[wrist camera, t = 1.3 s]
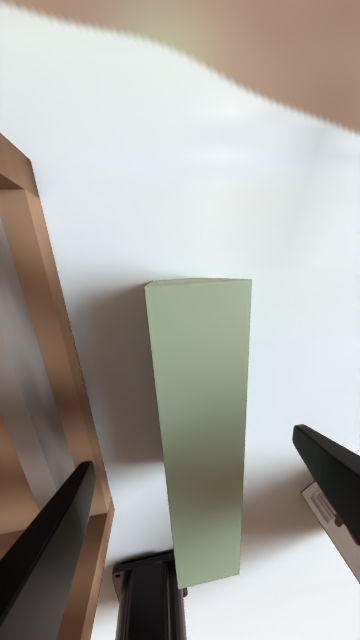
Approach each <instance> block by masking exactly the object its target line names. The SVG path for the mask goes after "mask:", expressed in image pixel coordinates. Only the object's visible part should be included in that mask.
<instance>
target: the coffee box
mask: <svg viewBox="0 0 360 640" xmlns="http://www.w3.org/2000/svg"><path fill="white" fill-rule="evenodd" d="M301 495H302V496H303V498H304V499H305V501H306V502H307V504H308V505H309V507H310V508H311V510H312V511H313V513H314V514H315V516H316V517H317V519H318V521H319V522H320V524H321V525H322V527H323V528H324V530H325V531H326V533H327V534H328V536H329V537H330V539H331V540H332V542H333V544H334V545H335V547H336V548H337V550H338V551H339V553H340V554H341V556H342V557H343V559H344V560H345V562H346V563H347V565H348V566H349V568H350V569H351V571H352V572H353V574H354V576H355V577H356V579H357V580H358V582H359V583H360V546H359V544H358V543H357V541H356V540H355V538H354V537H353V536H352V534H351V533H350V531H349V530H348V528H347V527H346V525H345V524H344V522H343V521H342V520H341V518H340V517H339V515H338V514H337V512H336V511H335V509H334V508H333V507H332V505H331V504H330V502H329V501H328V499H327V498H326V496H325V495H324V493H323V492H322V491H321V489H320V488H319V486H318V484H317V483H316V481H315V482H314V483H313V484H311V485H310V486H309V487H308V488H306V489H305V490H304V491H303V492H302V493H301Z"/></svg>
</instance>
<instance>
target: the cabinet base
mask: <svg viewBox="0 0 360 640" xmlns="http://www.w3.org/2000/svg"><path fill="white" fill-rule="evenodd" d="M89 460H91V461H93V465H94V468H95V472H96V483H95V488H94V493H93V498H92V503H91V508H90V513H89V518H88V523H87V528H86V533H85V537H84V541H83V545H82V548H81V552H80V555H79V559H78V563H77V566H76V570H75V573H74V577H73V580H72V584H71V588H70V591H69V595H68V598H67V602H66V606H65V609H64V613H63V616H62V620H61V624H60V627H59V631H58V634H57V638H56V640H90V638H91V633H92V628H93V622H94V617H95V612H96V606H97V601H98V596H99V590H100V585H101V580H102V574H103V569H104V564H105V558H106V553H107V548H108V542H109V537H110V532H111V526H112V521H113V515H114V505H113V501H112V497H111V493H110V489H109V485H108V481H107V476H106V472H105V468H104V464H103V460H102V456H101V451H100V447H99V443H98V439H97V435H96V431H95V427H94V422H93V418H92V414H91V410H90V406H89V402H88V397H87V393H86V389H85V385H84V381H83V377H82V373H81V368H80V364H79V360H78V356H77V352H76V348H75V343H74V339H73V335H72V331H71V327H70V323H69V319H68V314H67V310H66V306H65V302H64V298H63V294H62V289H61V285H60V281H59V277H58V273H57V269H56V265H55V260H54V256H53V252H52V248H51V244H50V240H49V235H48V231H47V227H46V223H45V219H44V215H43V211H42V206H41V202H40V198H39V194H38V190H37V186H36V182H35V177H34V173H33V169H32V165H31V161H30V159H28V158H27V157H26V156H25V155H24V154H23V153H22V152H21V151H20V150H19V149H17V148H16V147H15V146H14V145H13V144H12V143H11V142H10V141H9V140H8V139H6V138H5V137H4V136H3V135H2V134H1V133H0V560H1V558H2V557H3V556H4V555H5V554H6V552H7V551H8V550H9V549H10V548H11V546H12V545H13V544H14V543H15V541H16V540H17V539H18V538H19V537H20V535H21V534H22V533H23V532H24V531H25V529H26V528H27V527H28V526H29V525H30V523H31V522H32V521H33V520H34V518H35V517H36V516H37V515H38V514H39V512H40V511H41V510H42V509H43V508H44V506H45V505H46V504H47V503H48V501H49V500H50V499H51V498H52V497H53V495H54V494H55V493H56V492H57V491H58V489H59V488H60V487H61V486H62V484H63V483H64V482H65V481H66V480H67V478H68V477H69V476H70V475H71V474H72V472H73V471H74V470H75V469H76V468H77V466H78V465H79V464H80V463H81V462H83V461H89Z"/></svg>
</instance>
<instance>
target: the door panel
mask: <svg viewBox="0 0 360 640" xmlns="http://www.w3.org/2000/svg"><path fill="white" fill-rule="evenodd" d="M251 285H252V279H224V278H191V279H176V280H161V281H151V282H150V283H149V284H148V285H146V286H145V287H144V288H145V297H146V306H147V315H148V324H149V333H150V342H151V351H152V359H153V368H154V377H155V386H156V395H157V404H158V413H159V422H160V431H161V440H162V449H163V457H164V466H165V475H166V484H167V493H168V502H169V511H170V520H171V529H172V538H173V547H174V555H175V564H176V573H177V582H178V589H182V588H186V587H190V586H194V585H198V584H202V583H206V582H210V581H214V580H218V579H222V578H226V577H230V576H234V575H238V574H239V572H240V548H241V524H242V500H243V476H244V452H245V428H246V404H247V380H248V357H249V333H250V309H251Z"/></svg>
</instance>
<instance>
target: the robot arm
mask: <svg viewBox="0 0 360 640" xmlns="http://www.w3.org/2000/svg"><path fill="white" fill-rule="evenodd" d="M292 440H293V444H294V446H295V447H296V449H297V451H298V453H299V454H300V456H301V458H302V459H303V461H304V463H305V464H306V466H307V468H308V469H309V471H310V473H311V475H312V476H313V478H314V480H315V481H316V483H317V484H318V486H319V488H320V489H321V491H322V492H323V493H324V495H325V496H326V498H327V499H328V501H329V502H330V504H331V505H332V507H333V508H334V509H335V511H336V512H337V514H338V515H339V517H340V518H341V520H342V521H343V522H344V524H345V525H346V527H347V528H348V530H349V531H350V533H351V534H352V536H353V537H354V538H355V540H356V541H357V543H358V544H359V546H360V456H359V455H357V454H355V453H354V452H352V451H350V450H348V449H347V448H345V447H343V446H341V445H339V444H338V443H336V442H334V441H332V440H331V439H329V438H327V437H325V436H324V435H322V434H320V433H318V432H317V431H315V430H313V429H311V428H310V427H308V426H306V425H304V424H300V425H295V426H294V429H293V438H292ZM95 483H96V472H95V468H94V465H93V461H91V460H89V461H83V462H81V463H80V464H79V465H78V466H77V468H76V469H75V470H74V471H73V472H72V474H71V475H70V476H69V477H68V478H67V480H66V481H65V482H64V483H63V484H62V486H61V487H60V488H59V489H58V491H57V492H56V493H55V494H54V495H53V497H52V498H51V499H50V500H49V501H48V503H47V504H46V505H45V506H44V508H43V509H42V510H41V511H40V512H39V514H38V515H37V516H36V517H35V518H34V520H33V521H32V522H31V523H30V525H29V526H28V527H27V528H26V529H25V531H24V532H23V533H22V534H21V535H20V537H19V538H18V539H17V540H16V541H15V543H14V544H13V545H12V546H11V548H10V549H9V550H8V551H7V552H6V554H5V555H4V556H3V557H2V558H1V560H0V640H56V638H57V634H58V631H59V627H60V624H61V620H62V616H63V613H64V609H65V606H66V602H67V598H68V595H69V591H70V588H71V584H72V580H73V577H74V573H75V570H76V566H77V563H78V559H79V555H80V552H81V548H82V545H83V541H84V537H85V533H86V528H87V523H88V518H89V513H90V508H91V503H92V498H93V493H94V488H95ZM112 579H113V583H114V586H115V590H116V593H117V597H118V600H119V612H118V620H117V629H116V637H115V640H187V638H186V625H185V613H184V600H183V597H186V596H187V594H188V593H187V587H186V588H182V589H178V582H177V573H176V564H175V555H174V552H173V553H169V554H165V555H161V556H156V557H152V558H148V559H143V560H139V561H135V562H131V563H126V564H122V565H118V566H115V567H114V568H113V573H112Z"/></svg>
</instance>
